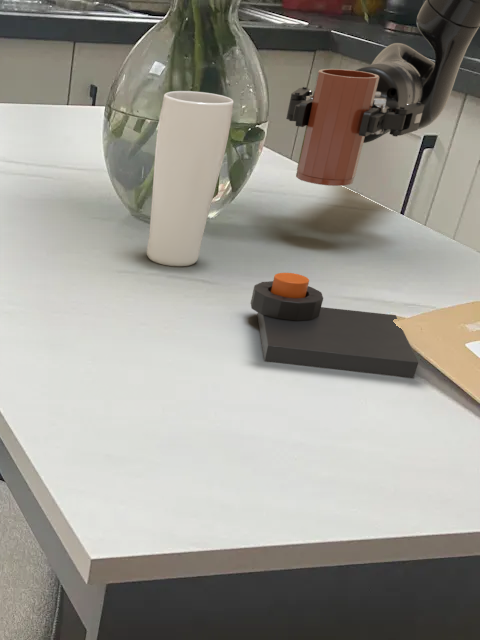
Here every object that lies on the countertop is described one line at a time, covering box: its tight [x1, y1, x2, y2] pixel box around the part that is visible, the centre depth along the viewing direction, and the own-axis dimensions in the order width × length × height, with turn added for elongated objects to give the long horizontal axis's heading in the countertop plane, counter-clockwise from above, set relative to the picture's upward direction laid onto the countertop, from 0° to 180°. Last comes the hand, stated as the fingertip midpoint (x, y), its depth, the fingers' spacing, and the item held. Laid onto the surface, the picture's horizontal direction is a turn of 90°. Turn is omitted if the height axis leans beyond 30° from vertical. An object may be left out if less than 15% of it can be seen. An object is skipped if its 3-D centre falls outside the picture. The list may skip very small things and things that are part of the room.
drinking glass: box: [146, 90, 235, 267], centre depth 105 cm, size 7×7×15 cm
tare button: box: [271, 272, 310, 298], centre depth 94 cm, size 3×3×2 cm
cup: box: [295, 68, 379, 187], centre depth 112 cm, size 6×6×10 cm
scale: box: [250, 280, 419, 379], centre depth 92 cm, size 13×13×3 cm
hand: (332, 119), depth 109 cm, fingers closed on cup, 6 cm apart
